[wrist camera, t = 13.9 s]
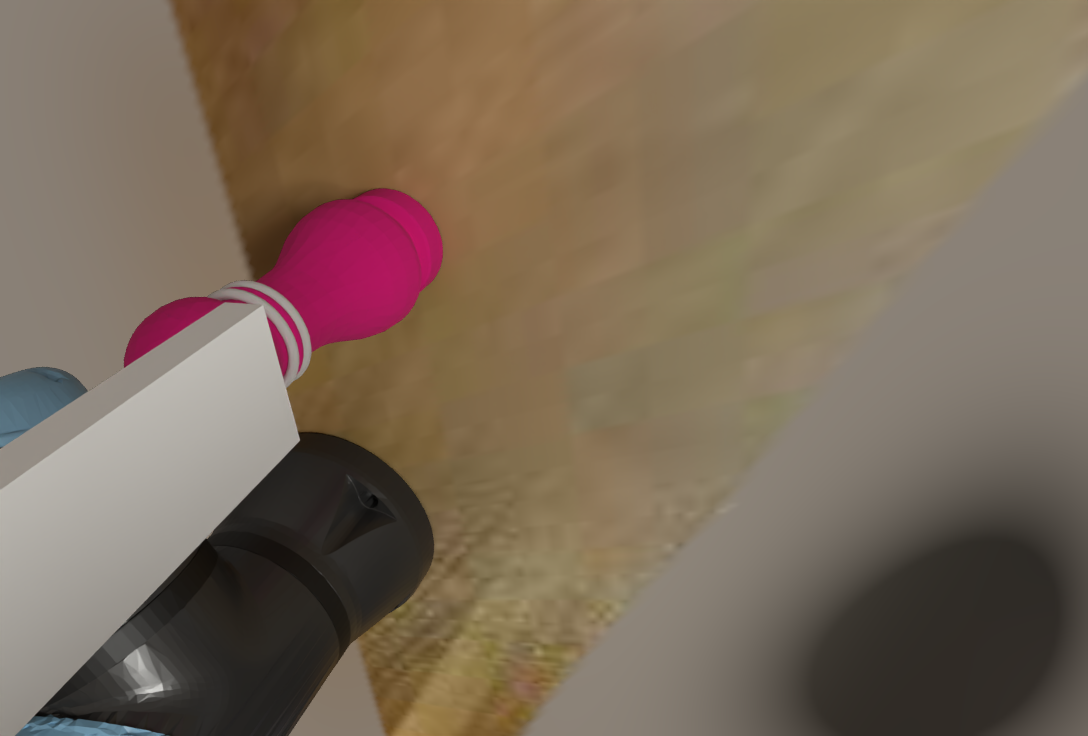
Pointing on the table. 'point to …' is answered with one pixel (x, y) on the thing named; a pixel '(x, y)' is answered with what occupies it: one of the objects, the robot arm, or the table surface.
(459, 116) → the table surface
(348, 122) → the table surface
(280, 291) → the pepper mill
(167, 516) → the robot arm
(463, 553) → the table surface
